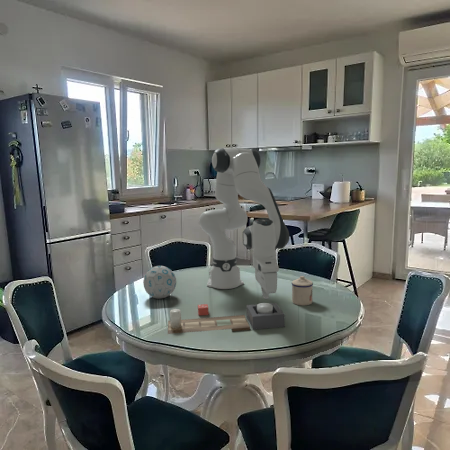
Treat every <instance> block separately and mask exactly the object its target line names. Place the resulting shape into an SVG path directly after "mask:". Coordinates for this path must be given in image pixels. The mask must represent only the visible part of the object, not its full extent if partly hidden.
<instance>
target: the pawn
mask: <svg viewBox="0 0 450 450" xmlns="http://www.w3.org/2000/svg"><path fill="white" fill-rule="evenodd" d="M181 313H182V311H181V309H179V308H172V309H170V311H169V321H170V325H171V328H173V329H177V328H180V327H181V320H182V314H181Z"/></svg>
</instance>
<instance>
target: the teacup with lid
mask: <svg viewBox="0 0 450 450" xmlns="http://www.w3.org/2000/svg"><path fill="white" fill-rule="evenodd" d="M313 285H314V282H313V281H312V280H310V279H307V278H306V277H305V276H303V275H301V276H299V278H297V279H294V280H292V281H291V290H292V291H291V292H292V293H291V299H292V300H291V301H292V303H293V304H294V305H297V306H309V305H312V303H313Z"/></svg>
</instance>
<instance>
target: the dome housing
mask: <svg viewBox="0 0 450 450" xmlns="http://www.w3.org/2000/svg"><path fill="white" fill-rule="evenodd" d="M268 303H269V304H272V305H273V313H266V314H257V305H258V304H259V303H258V304H246V320H247V322H248V324H249V326H250V328H251V329H252V330H254V331H255V330H264V329H265V330H266V329H275V328H285V313H284V312H283V310H282V308H280V306H279V305H278V303H277V302H268Z"/></svg>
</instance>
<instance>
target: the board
mask: <svg viewBox="0 0 450 450" xmlns="http://www.w3.org/2000/svg"><path fill="white" fill-rule="evenodd" d="M221 330H231V331H232V332H239V331H240V332H241V331H251V325H250V323H249V321H248V319H247V316H246V315H245V314H240V315H237V314H236V315H227V316H226V315H225V316H213V317H200V318H199V317H198V318H188V319H181V327H180V328H177V329H173V328H171V325H170V320H167V335H172V334H182V333H183V334H185V333H195V332H196V333H197V332H207V331H208V332H209V331H221Z"/></svg>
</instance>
